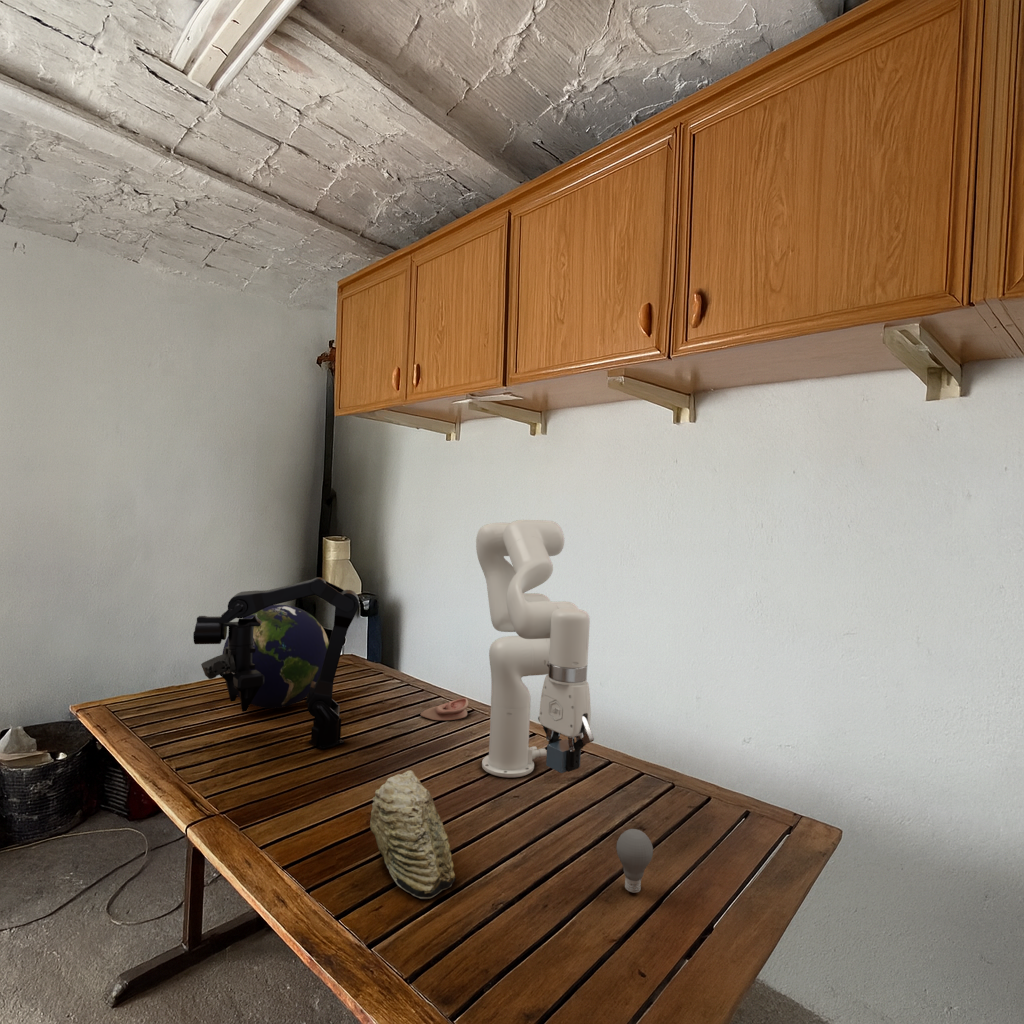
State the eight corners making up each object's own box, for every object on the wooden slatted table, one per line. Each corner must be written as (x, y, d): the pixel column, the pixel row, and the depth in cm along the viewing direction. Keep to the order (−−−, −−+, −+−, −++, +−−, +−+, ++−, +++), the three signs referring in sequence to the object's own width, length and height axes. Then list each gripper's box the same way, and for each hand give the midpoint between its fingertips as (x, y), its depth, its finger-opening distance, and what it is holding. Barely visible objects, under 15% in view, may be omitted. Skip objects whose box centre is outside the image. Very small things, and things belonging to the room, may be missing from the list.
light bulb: (610, 879, 108) (613, 822, 108) (644, 879, 109) (647, 822, 109) (619, 902, 102) (622, 840, 102) (655, 901, 103) (658, 840, 103)
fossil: (399, 838, 118) (402, 759, 118) (464, 883, 106) (468, 794, 105) (357, 856, 112) (361, 772, 112) (421, 906, 99) (425, 811, 99)
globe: (289, 685, 209) (292, 594, 208) (348, 705, 191) (352, 606, 191) (199, 706, 185) (203, 604, 184) (258, 732, 167) (262, 619, 167)
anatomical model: (416, 704, 183) (430, 693, 194) (416, 718, 183) (429, 705, 194) (461, 709, 180) (471, 697, 192) (460, 723, 180) (471, 710, 192)
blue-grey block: (546, 765, 124) (547, 744, 124) (564, 759, 127) (565, 738, 127) (561, 773, 121) (562, 751, 121) (580, 766, 124) (581, 745, 124)
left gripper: (195, 639, 159) (193, 701, 159) (216, 655, 144) (214, 723, 145) (241, 635, 166) (239, 694, 166) (266, 650, 151) (263, 714, 152)
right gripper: (524, 665, 127) (520, 754, 128) (586, 686, 115) (581, 786, 115) (551, 660, 132) (547, 746, 133) (613, 680, 120) (608, 775, 120)
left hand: (238, 706), depth 157 cm, fingers open, 9 cm apart
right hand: (563, 764), depth 124 cm, fingers closed on blue-grey block, 4 cm apart
